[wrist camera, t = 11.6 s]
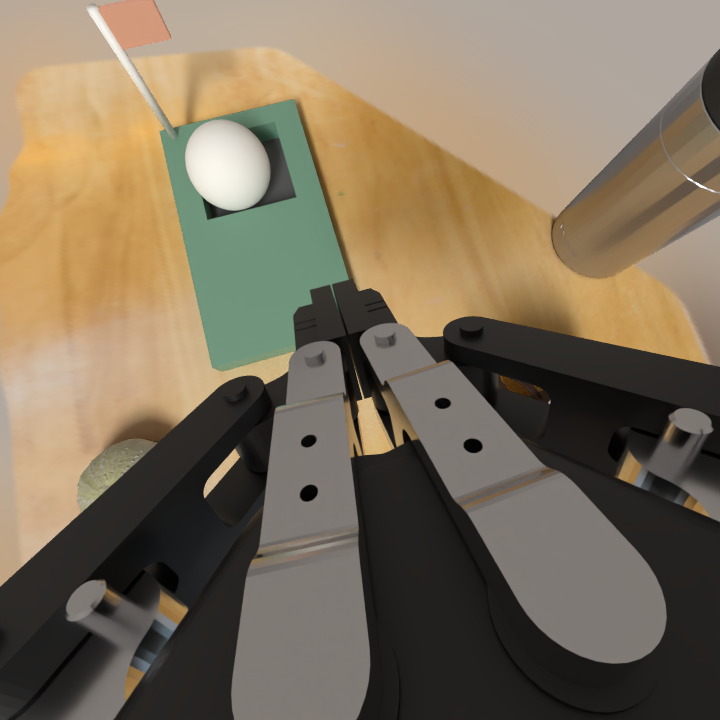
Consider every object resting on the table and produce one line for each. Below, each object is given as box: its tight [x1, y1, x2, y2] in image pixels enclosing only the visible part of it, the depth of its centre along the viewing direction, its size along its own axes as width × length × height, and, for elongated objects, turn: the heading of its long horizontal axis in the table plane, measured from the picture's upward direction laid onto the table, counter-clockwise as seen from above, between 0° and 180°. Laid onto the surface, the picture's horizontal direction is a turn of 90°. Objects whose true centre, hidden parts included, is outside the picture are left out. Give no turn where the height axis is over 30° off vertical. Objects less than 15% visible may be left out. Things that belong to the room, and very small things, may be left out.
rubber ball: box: [185, 119, 270, 211], centre depth 35 cm, size 8×8×8 cm
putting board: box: [87, 0, 349, 371], centre depth 32 cm, size 15×27×14 cm, turn 16°
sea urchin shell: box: [77, 438, 157, 513], centre depth 32 cm, size 9×8×8 cm
